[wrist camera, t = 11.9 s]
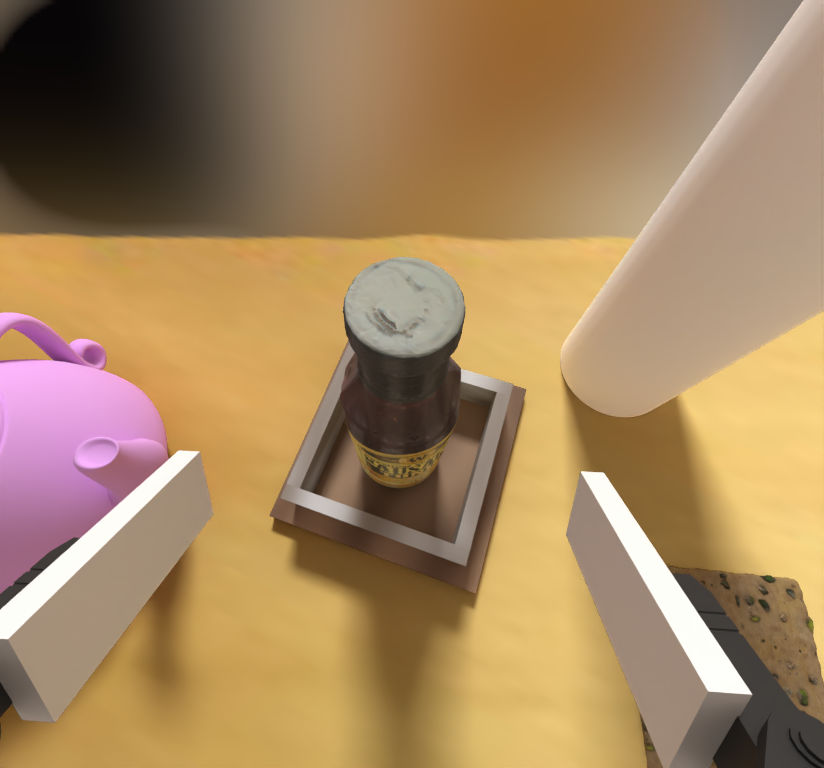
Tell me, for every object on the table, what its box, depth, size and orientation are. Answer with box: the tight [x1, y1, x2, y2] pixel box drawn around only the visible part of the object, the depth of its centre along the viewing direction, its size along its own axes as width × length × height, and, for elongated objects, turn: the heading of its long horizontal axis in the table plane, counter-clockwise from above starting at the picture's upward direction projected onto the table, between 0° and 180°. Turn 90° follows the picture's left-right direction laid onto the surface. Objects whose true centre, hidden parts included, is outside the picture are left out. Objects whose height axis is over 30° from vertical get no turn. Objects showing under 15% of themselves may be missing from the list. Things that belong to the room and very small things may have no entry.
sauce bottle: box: [340, 257, 465, 489], centre depth 22 cm, size 7×6×20 cm
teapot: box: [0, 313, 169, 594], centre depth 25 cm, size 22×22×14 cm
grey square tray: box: [270, 340, 526, 594], centre depth 30 cm, size 16×16×4 cm
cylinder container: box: [560, 0, 824, 417], centre depth 20 cm, size 9×9×30 cm
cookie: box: [640, 566, 824, 768], centre depth 26 cm, size 12×12×1 cm
